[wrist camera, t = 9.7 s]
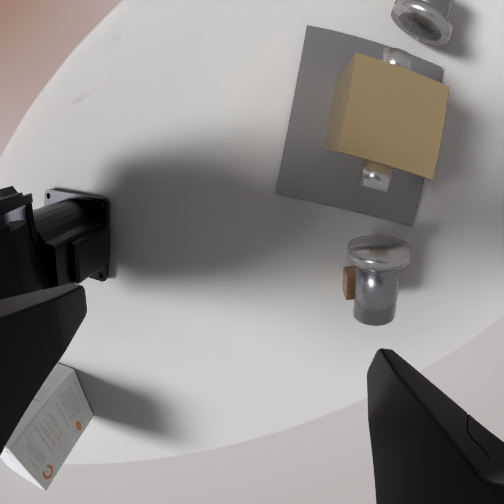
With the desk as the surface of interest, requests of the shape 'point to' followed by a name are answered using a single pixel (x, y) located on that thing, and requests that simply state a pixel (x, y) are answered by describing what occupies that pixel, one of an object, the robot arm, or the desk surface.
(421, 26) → the shaft
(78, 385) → the small box
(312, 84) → the mat
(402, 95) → the coupler
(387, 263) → the shaft
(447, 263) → the desk surface
